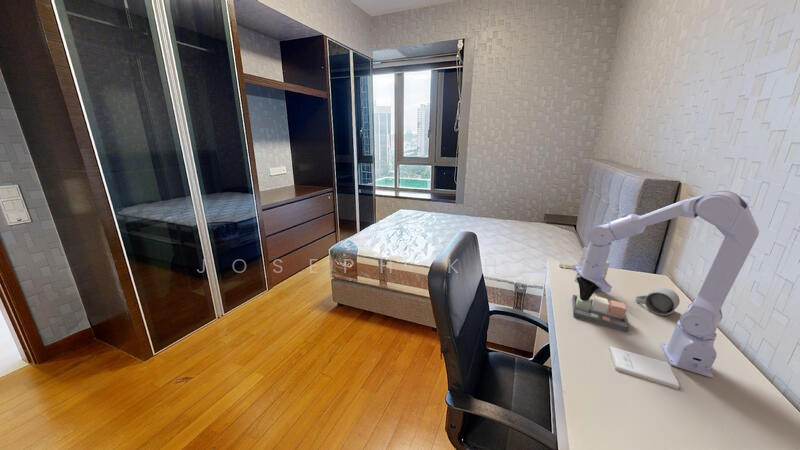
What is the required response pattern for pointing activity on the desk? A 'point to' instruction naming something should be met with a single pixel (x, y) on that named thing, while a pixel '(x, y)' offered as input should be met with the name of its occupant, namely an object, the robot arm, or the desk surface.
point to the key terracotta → (617, 309)
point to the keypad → (600, 317)
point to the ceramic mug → (660, 301)
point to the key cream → (600, 304)
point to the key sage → (583, 304)
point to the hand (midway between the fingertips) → (584, 299)
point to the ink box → (583, 262)
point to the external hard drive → (643, 367)
